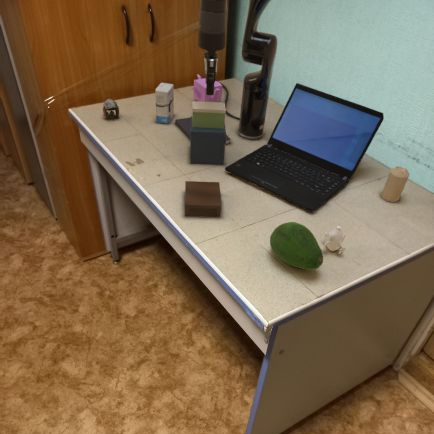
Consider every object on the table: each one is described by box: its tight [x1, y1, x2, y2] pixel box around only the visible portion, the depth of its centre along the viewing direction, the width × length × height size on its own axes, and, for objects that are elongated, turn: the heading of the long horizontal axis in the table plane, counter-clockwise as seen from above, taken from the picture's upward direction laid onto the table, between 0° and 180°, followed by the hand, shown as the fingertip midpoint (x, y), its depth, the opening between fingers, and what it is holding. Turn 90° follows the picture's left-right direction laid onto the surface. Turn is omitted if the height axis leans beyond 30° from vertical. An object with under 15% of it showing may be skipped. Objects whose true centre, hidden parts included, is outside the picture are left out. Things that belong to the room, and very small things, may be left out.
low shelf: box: [184, 180, 222, 218], centre depth 121 cm, size 12×10×4 cm
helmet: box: [102, 98, 120, 120], centre depth 157 cm, size 6×8×7 cm
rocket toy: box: [323, 224, 346, 255], centre depth 109 cm, size 5×5×8 cm
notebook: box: [174, 116, 231, 145], centre depth 155 cm, size 13×2×21 cm
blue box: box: [189, 116, 227, 166], centre depth 139 cm, size 11×11×11 cm
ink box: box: [154, 82, 175, 125], centre depth 158 cm, size 8×5×12 cm, turn 168°
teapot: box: [191, 74, 223, 103], centre depth 171 cm, size 18×13×10 cm
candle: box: [380, 165, 410, 203], centre depth 129 cm, size 6×6×10 cm
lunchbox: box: [191, 100, 227, 129], centre depth 133 cm, size 6×10×6 cm, turn 93°
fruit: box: [269, 221, 324, 271], centre depth 104 cm, size 15×10×10 cm, turn 33°
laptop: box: [224, 82, 385, 213], centre depth 133 cm, size 33×38×19 cm
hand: (209, 89), depth 128 cm, fingers open, 8 cm apart
